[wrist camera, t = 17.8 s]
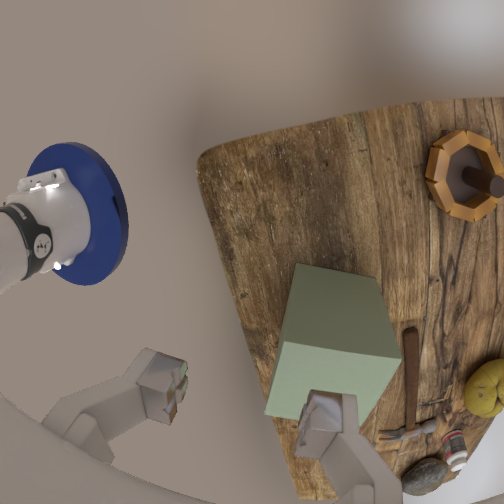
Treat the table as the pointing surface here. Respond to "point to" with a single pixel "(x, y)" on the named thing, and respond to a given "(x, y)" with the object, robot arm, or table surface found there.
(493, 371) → the fruit
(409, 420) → the hammer
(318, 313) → the pedestal
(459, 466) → the pill bottle
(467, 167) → the stand
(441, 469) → the stone
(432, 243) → the table surface
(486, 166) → the ring
